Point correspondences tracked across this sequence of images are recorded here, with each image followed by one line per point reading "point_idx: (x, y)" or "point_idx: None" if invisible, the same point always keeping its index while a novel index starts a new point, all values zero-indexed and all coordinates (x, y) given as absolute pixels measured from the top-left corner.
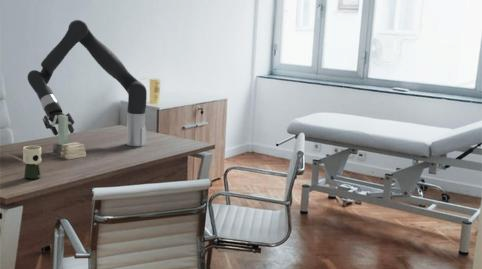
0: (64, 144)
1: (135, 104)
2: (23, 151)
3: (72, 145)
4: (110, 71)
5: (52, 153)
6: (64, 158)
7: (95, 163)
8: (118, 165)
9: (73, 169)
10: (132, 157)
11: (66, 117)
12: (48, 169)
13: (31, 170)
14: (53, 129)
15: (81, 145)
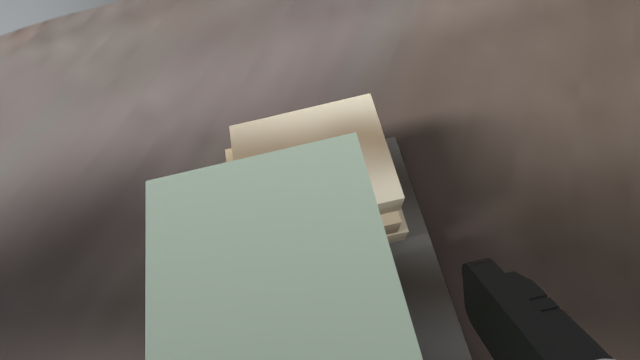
0: (389, 185)
1: None
2: None
3: (332, 130)
4: None
5: (447, 357)
6: (398, 171)
7: (254, 69)
8: (177, 11)
9: (405, 11)
10: (18, 110)
11: (245, 175)
12: (536, 43)
13: None
14: (569, 324)
15: (256, 122)
